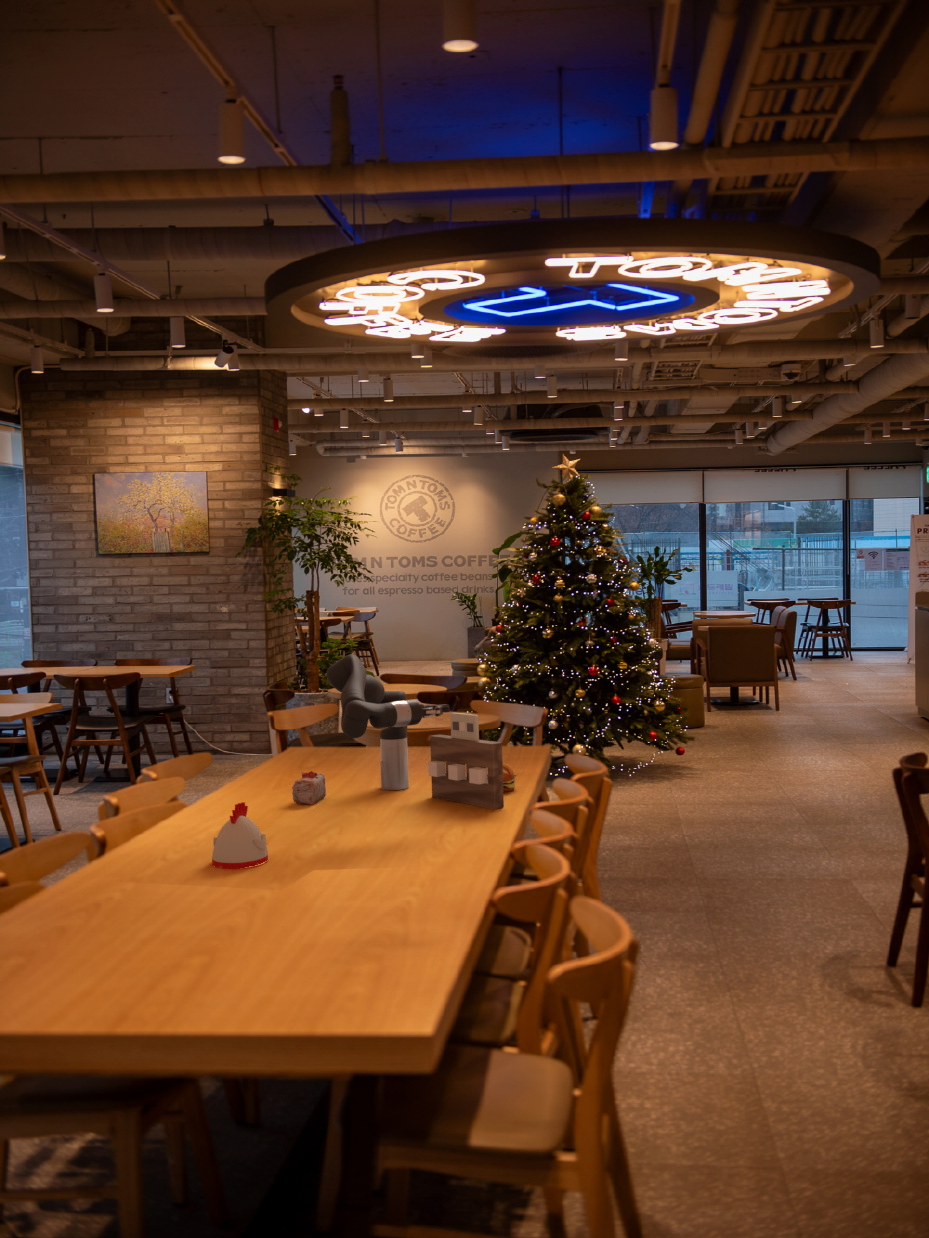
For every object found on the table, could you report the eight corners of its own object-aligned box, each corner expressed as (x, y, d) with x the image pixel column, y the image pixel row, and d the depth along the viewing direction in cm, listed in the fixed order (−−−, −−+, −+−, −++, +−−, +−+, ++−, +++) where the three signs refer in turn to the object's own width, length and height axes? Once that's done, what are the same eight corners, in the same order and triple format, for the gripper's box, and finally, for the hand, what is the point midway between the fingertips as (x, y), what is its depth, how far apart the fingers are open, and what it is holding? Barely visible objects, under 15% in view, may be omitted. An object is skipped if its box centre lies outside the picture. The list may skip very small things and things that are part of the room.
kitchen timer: (277, 856, 277) (275, 798, 276) (252, 870, 264) (250, 810, 263) (228, 854, 281) (226, 797, 280) (202, 868, 267) (199, 808, 267)
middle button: (457, 780, 335) (457, 766, 334) (448, 778, 338) (448, 765, 338) (465, 779, 337) (465, 765, 337) (456, 777, 340) (456, 763, 340)
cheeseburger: (517, 785, 364) (516, 758, 361) (516, 799, 354) (515, 771, 351) (487, 785, 365) (486, 758, 362) (485, 799, 355) (484, 771, 352)
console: (494, 809, 327) (492, 744, 327) (432, 796, 350) (430, 735, 350) (503, 807, 330) (501, 742, 330) (441, 794, 353) (439, 734, 352)
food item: (314, 806, 341) (313, 775, 340) (291, 806, 342) (290, 775, 342) (328, 797, 354) (327, 768, 354) (305, 797, 356) (304, 768, 355)
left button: (437, 776, 342) (436, 763, 342) (428, 775, 345) (428, 761, 345) (445, 775, 344) (445, 761, 344) (436, 773, 348) (436, 760, 348)
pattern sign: (475, 741, 334) (474, 715, 334) (450, 737, 343) (449, 712, 343) (479, 740, 335) (478, 715, 335) (454, 737, 344) (453, 712, 344)
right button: (478, 784, 327) (478, 770, 327) (469, 782, 330) (468, 768, 330) (487, 782, 329) (486, 768, 329) (477, 781, 333) (477, 766, 333)
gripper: (416, 701, 305) (462, 696, 317) (388, 699, 315) (433, 694, 327) (417, 727, 306) (462, 721, 317) (389, 724, 316) (434, 718, 327)
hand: (448, 707), depth 322 cm, fingers closed
